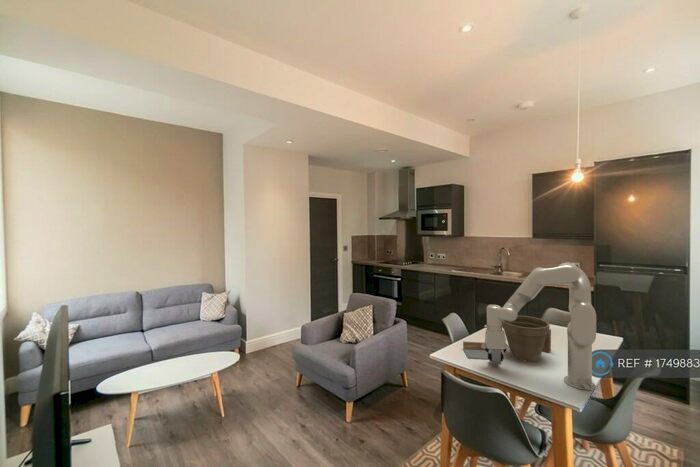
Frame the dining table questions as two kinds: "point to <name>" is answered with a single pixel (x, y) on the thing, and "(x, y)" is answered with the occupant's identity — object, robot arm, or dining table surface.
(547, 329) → the plant pot
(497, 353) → the bracket
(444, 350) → the dining table surface
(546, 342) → the wooden block
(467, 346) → the walls
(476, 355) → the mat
